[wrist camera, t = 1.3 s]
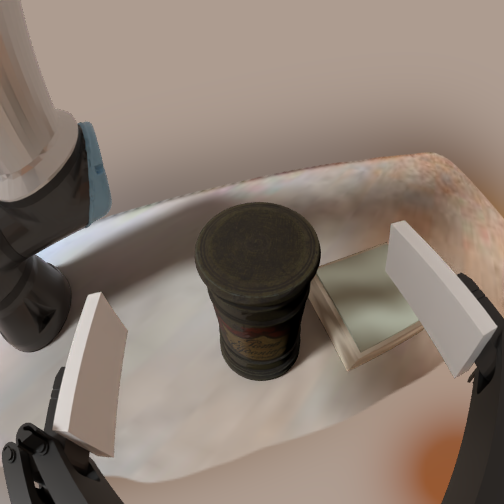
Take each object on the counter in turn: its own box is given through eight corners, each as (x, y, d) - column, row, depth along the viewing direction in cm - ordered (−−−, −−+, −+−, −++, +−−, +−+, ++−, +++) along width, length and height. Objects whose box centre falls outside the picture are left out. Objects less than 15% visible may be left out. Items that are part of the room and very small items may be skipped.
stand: (304, 290, 37) (309, 267, 33) (377, 263, 40) (387, 240, 36) (347, 371, 30) (359, 357, 26) (422, 330, 32) (439, 312, 28)
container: (216, 319, 35) (185, 208, 21) (288, 305, 36) (301, 190, 22) (228, 388, 30) (192, 315, 16) (307, 372, 30) (346, 285, 17)
